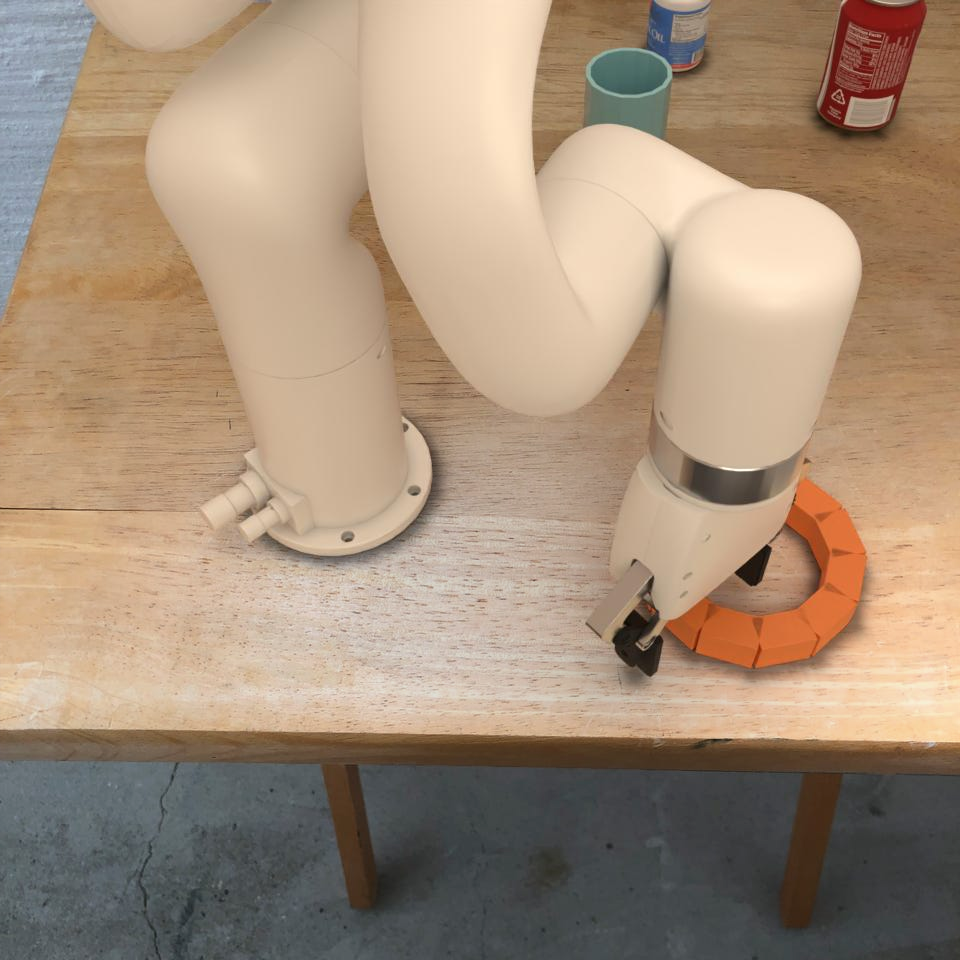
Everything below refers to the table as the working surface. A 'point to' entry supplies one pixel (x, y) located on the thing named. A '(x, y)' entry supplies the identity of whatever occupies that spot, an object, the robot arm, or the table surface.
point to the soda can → (869, 62)
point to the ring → (793, 629)
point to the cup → (628, 90)
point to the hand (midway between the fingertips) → (687, 612)
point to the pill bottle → (678, 31)
